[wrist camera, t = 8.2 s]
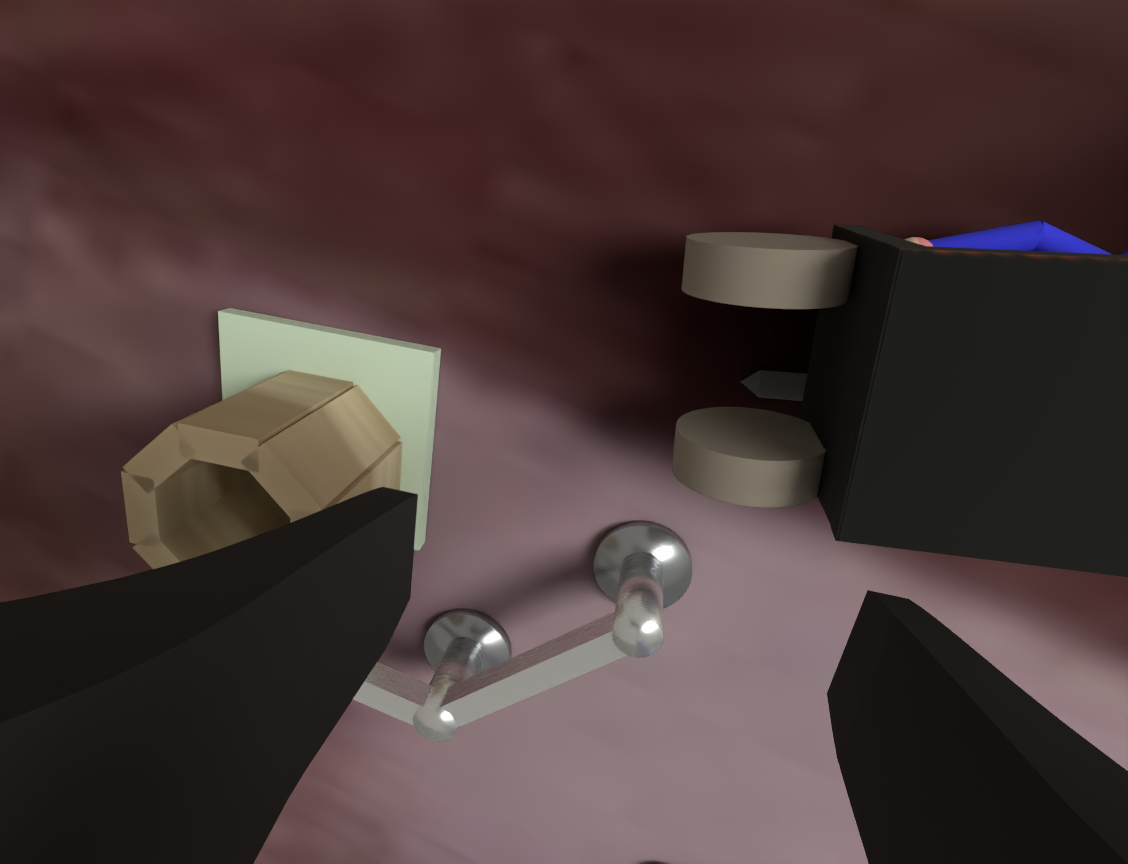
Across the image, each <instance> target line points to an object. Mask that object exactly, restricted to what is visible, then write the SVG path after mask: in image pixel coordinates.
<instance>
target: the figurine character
mask: <svg viewBox="0 0 1128 864" xmlns="http://www.w3.org/2000/svg"><path fill="white" fill-rule="evenodd" d="M682 291H683V292H684V293H686V294H688V295H691V296H693V297H697V298H700V299H704V300H709V301H713V302H719V303H725V304H732V305H739V306H748V307H759V308H775V309H819V311H818V317H817V323H816V328H815V334H814V339H813V345H812V351H811V356H810V362H809V367H808V373H807V374H805V373H792V372H778V371H765V370H760V371H758V372H756V373H754V374H753V375H751V376H749V377H747V378H746V379H744V380H742V381H741V383H742V384H744V385H745V386H746V387H747V388H748V389H749V390H751V391H752V392H753V393H754V394H755V395H757V396H758V397H761V398H772V399H784V400H795V401H802V406H801V412H800V418H796V417H793V416H790V415H786V414H782V413H778V412H774V411H768V410H763V409H755V408H746V407H712V408H704V409H699V410H694V411H691V412H688V413H686V414H684V415H683V416H681V417H680V418H679V419H678V420H677V423H676V431H675V441H674V451H673V461H672V471H673V473H674V475H675V477H676V478H677V479H678V480H679V481H680V482H681V483H683V484H684V485H685V486H687V487H688V488H690V489H692V490H694V491H696V492H698V493H700V494H702V495H705V496H707V497H710V498H713V499H716V500H720V501H724V502H728V503H732V504H738V505H744V506H752V507H787V506H794V505H799V504H802V503H805V502H808V501H810V500H812V499H814V498H815V497H817V496H818V499H819V501H820V503H821V505H822V507H823V509H824V511H825V513H826V516H827V518H828V520H829V522H830V524H831V529H832V532H833V535H834V538H835V541H843V542H851V543H859V544H868V545H876V546H884V547H892V548H900V549H908V550H916V551H924V552H932V553H940V554H948V555H956V556H964V557H972V558H980V559H988V560H996V561H1004V562H1012V563H1020V564H1028V565H1036V566H1044V567H1052V568H1060V569H1068V570H1076V571H1084V572H1092V573H1100V574H1108V575H1116V576H1124V577H1128V252H1125V253H1123V254H1121V255H1113V254H1110V253H1108V252H1106V251H1104V250H1102V249H1100V248H1098V247H1096V246H1094V245H1092V244H1089V243H1087V242H1085V241H1083V240H1081V239H1079V238H1077V237H1075V236H1073V235H1071V234H1068V233H1066V232H1064V231H1062V230H1060V229H1058V228H1056V227H1054V226H1052V225H1050V224H1047V223H1045V222H1043V221H1032V222H1027V223H1021V224H1016V225H1010V226H1005V227H999V228H994V229H988V230H983V231H977V232H972V233H966V234H960V235H955V236H949V237H944V238H938V239H933V240H926V239H924V238H920V237H911V238H907V239H901V238H898V237H895V236H891V235H888V234H885V233H882V232H879V231H875V230H872V229H869V228H866V227H862V226H856V225H834V228H833V233H832V239H831V238H824V237H814V236H804V235H791V234H776V233H752V232H711V233H697V234H691V235H688V236H686V247H685V258H684V268H683V279H682Z"/></svg>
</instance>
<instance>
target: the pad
mask: <svg viewBox="0 0 1128 864" xmlns="http://www.w3.org/2000/svg"><path fill="white" fill-rule="evenodd" d="M218 321H219V341H220V361H221V381H222V400H224V399H227V398H229V397H231V396H233V395H235V394H237V393H239V392H242V391H244V390H246V389H248V388H250V387H252V386H254V385H257V384H259V383H261V382H263V381H265V380H267V379H270V378H272V377H274V376H276V375H278V374H280V373H282V372H285V371H286V372H287V371H289V370H293V371H298V372H304V373H309V374H314V375H319V376H325V377H330V378H335V379H340V380H345V381H351V382H353V388H354V387H355V386H357V385H358V386H359V387H360V388H361V389H362V390H363V392H364V393H365V394H366V395H367V397H368V398H369V399H370V400H371V401H372V403H373V404H374V405H375V406H376V408H377V409H378V410H379V411H380V412H381V414H382V415H383V416H384V417H385V418H386V420H387V421H388V422H389V423H390V425H391V426H392V427H393V428H394V429H395V431H396V432H397V433H398V434H399V436H400V437H401V438H400V439H399V440H398V441H400V442H403V444H402V463H401V481H400V490H401V491H405V492H410V493H415V494H418V500H417V514H416V527H415V540H414V550H418V551H419V550H420V548H421V547H422V545H423V544H424V543H425V537H426V525H427V513H428V501H429V489H430V477H431V464H432V452H433V440H434V428H435V416H436V404H437V392H438V380H439V368H440V355H441V348H436V347H431V346H426V345H421V344H416V343H410V342H405V341H400V340H395V339H390V338H384V337H379V336H374V335H369V334H364V333H358V332H353V331H348V330H343V329H337V328H332V327H327V326H322V325H317V324H311V323H306V322H301V321H296V320H291V319H285V318H280V317H275V316H270V315H265V314H259V313H254V312H249V311H244V310H239V309H233V308H228V309H224V310H221V311H218Z"/></svg>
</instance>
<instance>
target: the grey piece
mask: <svg viewBox="0 0 1128 864" xmlns="http://www.w3.org/2000/svg"><path fill="white" fill-rule="evenodd" d="M594 575H595V578H596V581H597V583H598V585H599V587H600V589H601V590H602V591H603V593H604V594H605V595H606V596H607V597H608V598H609V599H611V600H612V601H613V602H615V603H616V608H615V612H613V613H611V614H608V615H606V616H604V617H602V618H600V619H597V620H595V621H593V622H591V623H588V624H586V625H584V626H582V627H580V628H577V629H575V630H573V631H571V632H569V633H566V634H564V635H562V636H560V637H558V638H555V639H553V640H551V641H549V642H547V643H544V644H542V645H540V646H538V647H535V648H533V649H531V650H529V651H527V652H524V653H522V654H520V655H518V656H516V657H513V658H511V651H512V650H511V643H510V640H509V638H508V635H507V634H506V632H505V631H504V629H503V628H502V627H501V626H500V625H499V624H498V623H497V622H496V621H495V620H494V619H492V618H491V617H489V616H487V615H485V614H483V613H481V612H478V611H474V610H469V609H456V610H451V611H448V612H445V613H443V614H441V615H440V616H438V617H437V618H436V619H435V620H434V622H433V623H432V625H431V626H430V628H429V630H428V632H427V634H426V636H425V640H424V651H425V655H426V658H427V660H428V662H429V664H430V665H431V667H432V668H433V669H434V670H435V674H434V676H433V678H432V680H431V682H430V684H427V683H424V682H422V681H420V680H417V679H415V678H413V677H410V676H408V675H406V674H404V673H401V672H399V671H397V670H394V669H392V668H390V667H387V666H385V665H383V664H380V663H378V662H377V663H376V664H375V666H374V668H373V669H372V671H371V672H370V674H369V675H368V677H367V678H366V680H365V681H364V683H363V684H362V686H361V687H360V689H359V690H358V692H357V693H356V695H355V696H354V698H353V700H356V701H358V702H360V703H363V704H365V705H367V706H370V707H372V708H374V709H377V710H379V711H381V712H383V713H386V714H388V715H390V716H393V717H395V718H397V719H400V720H402V721H404V722H406V723H409V724H411V725H413V726H414V727H415V729H416V731H417V732H418V733H419V734H420V735H421V736H423V737H424V738H426V739H428V740H431V741H435V742H444V741H447V740H449V739H451V738H452V737H453V735H454V734H455V731H456V729H457V728H458V727H460V726H462V725H465V724H467V723H469V722H472V721H474V720H476V719H479V718H481V717H483V716H486V715H488V714H491V713H493V712H495V711H498V710H500V709H502V708H505V707H507V706H509V705H512V704H514V703H516V702H519V701H521V700H524V699H526V698H528V697H531V696H533V695H535V694H538V693H540V692H542V691H545V690H547V689H549V688H552V687H554V686H556V685H559V684H561V683H564V682H566V681H568V680H571V679H573V678H575V677H578V676H580V675H582V674H585V673H587V672H589V671H592V670H594V669H597V668H599V667H601V666H604V665H606V664H608V663H611V662H613V661H615V660H618V659H620V658H622V657H625V656H627V655H629V656H632V657H639V658H640V657H647V656H650V655H652V654H654V653H655V652H657V651H658V650H659V648H660V647H661V644H662V641H663V608H665V607H668V606H670V605H672V604H673V603H675V602H676V601H677V600H679V599H680V598H681V597H682V596H683V594H684V593H685V592H686V590H687V588H688V587H689V584H690V581H691V576H692V563H691V556H690V553H689V550H688V548H687V546H686V545H685V543H684V541H683V540H682V539H681V538H680V537H679V536H678V535H677V534H676V533H675V532H673V531H672V530H671V529H669V528H667V527H665V526H663V525H660V524H658V523H654V522H649V521H632V522H627V523H624V524H621V525H619V526H617V527H615V528H613V529H612V530H610V531H609V532H608V533H607V534H606V535H605V536H604V537H603V538H602V540H601V541H600V543H599V545H598V547H597V550H596V554H595V558H594ZM510 658H511V659H510Z"/></svg>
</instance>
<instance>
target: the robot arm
mask: <svg viewBox="0 0 1128 864" xmlns="http://www.w3.org/2000/svg"><path fill="white" fill-rule="evenodd" d="M417 500H418V494H415V493H410V492H405V491H401V490H396V489H391V488H387V487H380V488H377V489H373V490H370V491H368V492H365V493H362V494H360V495H357V496H355V497H352V498H350V499H347V500H345V501H342V502H340V503H338V504H335V505H333V506H330V507H328V508H326V509H323V510H321V511H318V512H316V513H313V514H311V515H308V516H306V517H304V518H301V519H299V520H296V521H294V522H291V523H289V524H286V525H284V526H281V527H279V528H276V529H274V530H271V531H268V532H265V533H262V534H260V535H257V536H254V537H251V538H249V539H246V540H243V541H240V542H238V543H235V544H232V545H229V546H227V547H224V548H221V549H218V550H216V551H213V552H210V553H207V554H203V555H200V556H197V557H194V558H191V559H187V560H184V561H181V562H178V563H174V564H171V565H167V566H163V567H160V568H156V569H152V570H149V571H145V572H141V573H138V574H134V575H130V576H126V577H122V578H118V579H114V580H109V581H105V582H100V583H95V584H91V585H86V586H81V587H77V588H72V589H67V590H63V591H58V592H53V593H49V594H44V595H39V596H34V597H30V598H24V599H19V600H13V601H7V602H1V603H0V864H253V863H254V861H255V860H256V858H257V856H258V854H259V852H260V850H261V848H262V846H263V845H264V843H265V841H266V839H267V837H268V835H269V833H270V832H271V830H272V828H273V826H274V824H275V822H276V820H277V818H278V817H279V815H280V813H281V811H282V809H283V807H284V805H285V804H286V802H287V800H288V798H289V796H290V795H291V793H292V792H293V790H294V788H295V787H296V785H297V783H298V782H299V780H300V778H301V777H302V775H303V773H304V772H305V770H306V769H307V767H308V766H309V764H310V763H311V761H312V760H313V758H314V757H315V755H316V754H317V752H318V751H319V749H320V748H321V746H322V745H323V743H324V742H325V740H326V738H327V737H328V735H329V734H330V732H331V731H332V729H333V728H334V726H335V725H336V723H337V722H338V720H339V719H340V717H341V716H342V714H343V713H344V711H345V710H346V708H347V707H348V705H349V704H350V702H351V701H352V699H353V698H354V696H355V695H356V693H357V692H358V690H359V689H360V687H361V686H362V684H363V683H364V681H365V680H366V678H367V677H368V675H369V674H370V672H371V671H372V669H373V668H374V666H375V664H376V663H377V661H378V660H379V658H380V657H381V655H382V654H383V652H384V650H385V649H386V647H387V645H388V643H389V641H390V639H391V637H392V635H393V633H394V631H395V629H396V627H397V625H398V623H399V620H400V618H401V616H402V614H403V612H404V610H405V608H406V606H407V603H408V601H409V599H410V593H411V580H412V567H413V553H414V540H415V527H416V514H417ZM827 696H828V703H829V711H830V718H831V725H832V731H833V737H834V742H835V748H836V754H837V759H838V762H839V766H840V769H841V773H842V776H843V780H844V783H845V786H846V790H847V793H848V797H849V800H850V803H851V807H852V810H853V813H854V817H855V820H856V823H857V826H858V830H859V833H860V836H861V840H862V843H863V846H864V849H865V853H866V856H867V859H868V863H869V864H1128V771H1127V770H1125V769H1124V768H1123V767H1121V766H1120V765H1119V764H1117V763H1116V762H1115V761H1113V760H1112V759H1111V758H1109V757H1108V756H1107V755H1105V754H1104V753H1103V752H1101V751H1100V750H1099V749H1098V748H1096V747H1095V746H1094V745H1092V744H1091V743H1090V742H1088V741H1087V740H1086V739H1084V738H1083V737H1082V736H1080V735H1079V734H1078V733H1076V732H1075V731H1074V730H1073V729H1071V728H1070V727H1069V726H1067V725H1066V724H1065V723H1063V722H1062V721H1061V720H1060V719H1058V718H1057V717H1056V716H1055V715H1053V714H1052V713H1051V712H1050V711H1048V710H1047V709H1046V708H1045V707H1043V706H1042V705H1041V704H1040V703H1038V702H1037V701H1036V700H1035V699H1033V698H1032V697H1031V696H1030V695H1028V694H1027V693H1026V692H1025V691H1023V690H1022V689H1021V688H1020V687H1019V686H1017V685H1016V684H1015V683H1014V682H1012V681H1011V680H1010V679H1009V678H1008V677H1006V676H1005V675H1004V674H1003V673H1002V672H1000V671H999V670H998V669H997V668H996V667H994V666H993V665H992V664H991V663H989V662H988V661H987V660H986V659H985V658H983V657H982V656H981V655H980V654H979V653H977V652H976V651H975V650H974V649H973V648H971V647H970V646H969V645H968V644H967V643H965V642H964V641H963V640H962V639H961V638H959V637H958V636H957V635H956V634H954V633H953V632H952V631H951V630H950V629H948V628H947V627H946V626H945V625H943V624H942V623H941V622H940V621H938V620H937V619H936V618H935V617H933V616H932V615H931V614H929V613H928V612H927V611H925V610H924V609H923V608H921V607H920V606H918V605H917V604H915V603H914V602H912V601H911V600H909V599H906V598H901V597H897V596H892V595H887V594H883V593H878V592H873V591H869V590H868V591H867V593H866V596H865V598H864V601H863V603H862V606H861V609H860V611H859V614H858V616H857V619H856V621H855V624H854V626H853V629H852V631H851V634H850V636H849V639H848V641H847V644H846V647H845V649H844V652H843V654H842V657H841V659H840V662H839V664H838V667H837V669H836V672H835V674H834V677H833V679H832V682H831V685H830V687H829V690H828V692H827Z"/></svg>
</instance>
